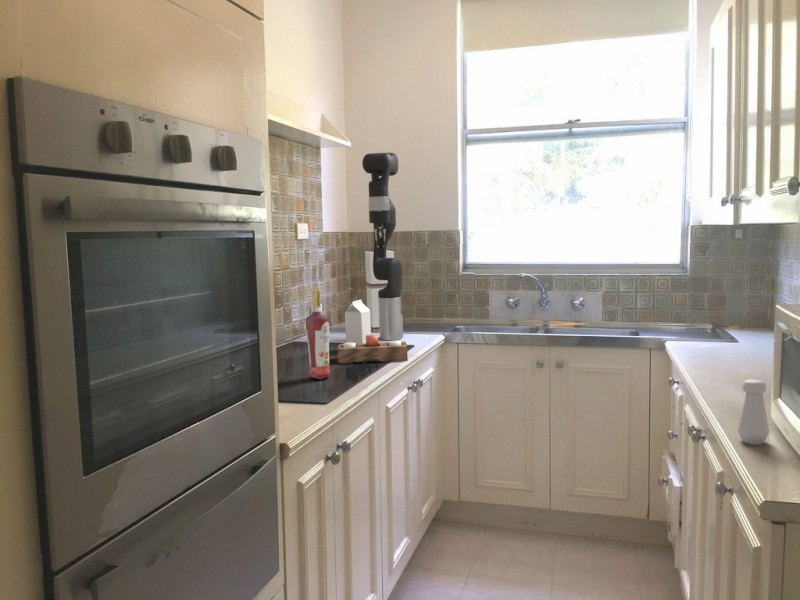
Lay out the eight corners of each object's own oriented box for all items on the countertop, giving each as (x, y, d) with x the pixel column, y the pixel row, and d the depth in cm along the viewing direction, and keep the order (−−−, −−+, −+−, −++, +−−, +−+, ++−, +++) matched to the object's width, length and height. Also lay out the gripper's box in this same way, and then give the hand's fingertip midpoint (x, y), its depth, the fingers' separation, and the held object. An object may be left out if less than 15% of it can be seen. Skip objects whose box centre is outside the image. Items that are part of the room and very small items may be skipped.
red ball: (365, 346, 238) (365, 336, 238) (366, 344, 243) (365, 334, 242) (378, 346, 238) (378, 336, 238) (378, 343, 243) (378, 334, 242)
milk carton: (371, 349, 260) (369, 299, 258) (363, 352, 254) (360, 301, 252) (355, 348, 263) (353, 299, 261) (346, 351, 257) (344, 301, 255)
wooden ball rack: (338, 363, 236) (337, 349, 235) (339, 357, 245) (338, 344, 245) (407, 360, 237) (407, 346, 236) (405, 355, 246) (405, 341, 246)
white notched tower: (396, 330, 303) (393, 251, 298) (372, 332, 300) (369, 252, 296) (390, 326, 314) (388, 250, 310) (368, 328, 311) (365, 251, 307)
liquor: (321, 381, 209) (317, 290, 206) (303, 379, 213) (298, 290, 210) (336, 376, 215) (332, 288, 212) (318, 374, 219) (314, 287, 216)
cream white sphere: (389, 352, 239) (388, 342, 238) (388, 350, 243) (388, 340, 243) (401, 352, 239) (401, 342, 239) (401, 349, 243) (400, 340, 243)
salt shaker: (739, 435, 146) (741, 376, 145) (770, 439, 143) (771, 379, 141) (735, 443, 141) (736, 381, 140) (766, 447, 138) (768, 385, 137)
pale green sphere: (343, 354, 238) (342, 344, 238) (343, 352, 242) (343, 342, 242) (355, 354, 238) (355, 344, 238) (356, 351, 243) (355, 342, 242)
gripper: (368, 210, 252) (370, 257, 254) (368, 209, 239) (370, 259, 241) (389, 209, 252) (390, 256, 254) (390, 209, 239) (392, 258, 241)
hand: (381, 257), depth 248 cm, fingers closed
